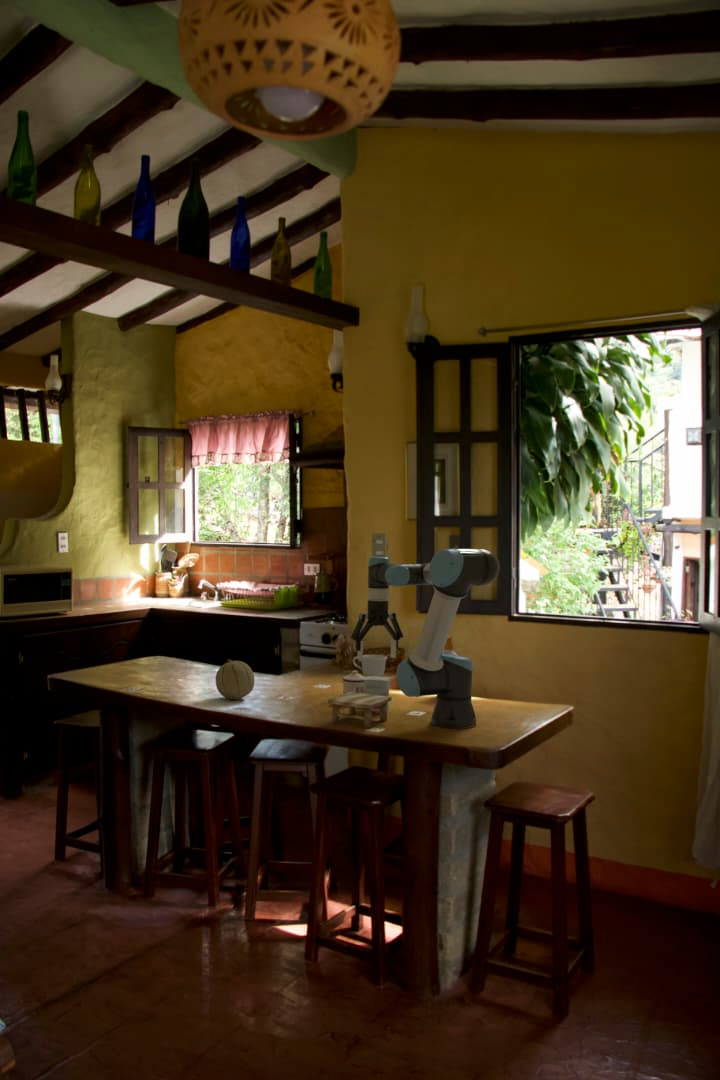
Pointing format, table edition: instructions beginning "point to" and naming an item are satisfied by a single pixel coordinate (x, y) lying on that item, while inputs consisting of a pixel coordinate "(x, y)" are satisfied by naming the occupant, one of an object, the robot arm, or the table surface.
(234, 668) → the cantaloupe
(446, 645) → the soap bottle
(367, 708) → the footstool
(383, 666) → the teacup
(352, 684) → the teacup with lid
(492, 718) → the table surface
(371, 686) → the ink box
